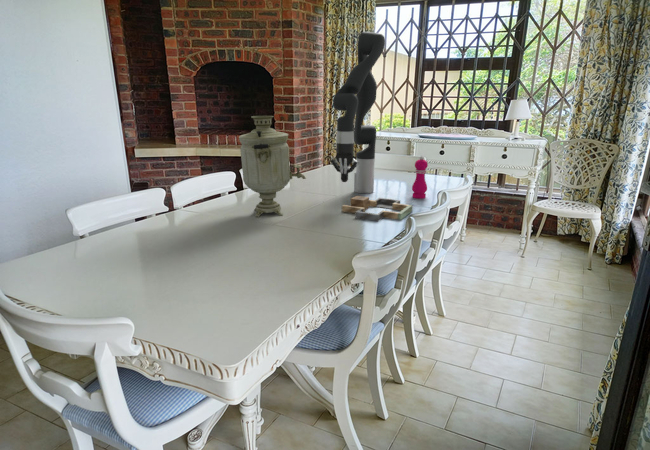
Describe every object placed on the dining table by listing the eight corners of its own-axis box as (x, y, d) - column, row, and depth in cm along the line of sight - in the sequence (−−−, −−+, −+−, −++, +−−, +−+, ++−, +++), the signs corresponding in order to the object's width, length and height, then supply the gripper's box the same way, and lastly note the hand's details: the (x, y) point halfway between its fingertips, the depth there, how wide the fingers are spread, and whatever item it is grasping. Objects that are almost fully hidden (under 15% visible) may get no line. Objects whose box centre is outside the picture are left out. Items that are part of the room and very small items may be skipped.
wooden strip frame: (335, 214, 177) (335, 209, 177) (361, 200, 200) (361, 195, 199) (396, 223, 165) (396, 217, 165) (416, 207, 188) (416, 202, 187)
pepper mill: (409, 197, 205) (412, 156, 199) (413, 194, 211) (416, 154, 205) (424, 199, 202) (427, 157, 196) (428, 196, 208) (431, 155, 202)
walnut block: (350, 209, 185) (350, 198, 184) (356, 206, 190) (356, 195, 189) (363, 211, 183) (363, 200, 181) (368, 208, 188) (369, 197, 186)
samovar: (294, 225, 163) (292, 119, 151) (230, 221, 168) (223, 118, 156) (312, 205, 191) (311, 114, 179) (257, 202, 196) (252, 113, 184)
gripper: (327, 142, 181) (327, 181, 186) (355, 143, 175) (354, 184, 180) (335, 140, 187) (334, 179, 192) (362, 141, 181) (361, 181, 187)
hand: (344, 181), depth 186 cm, fingers closed
